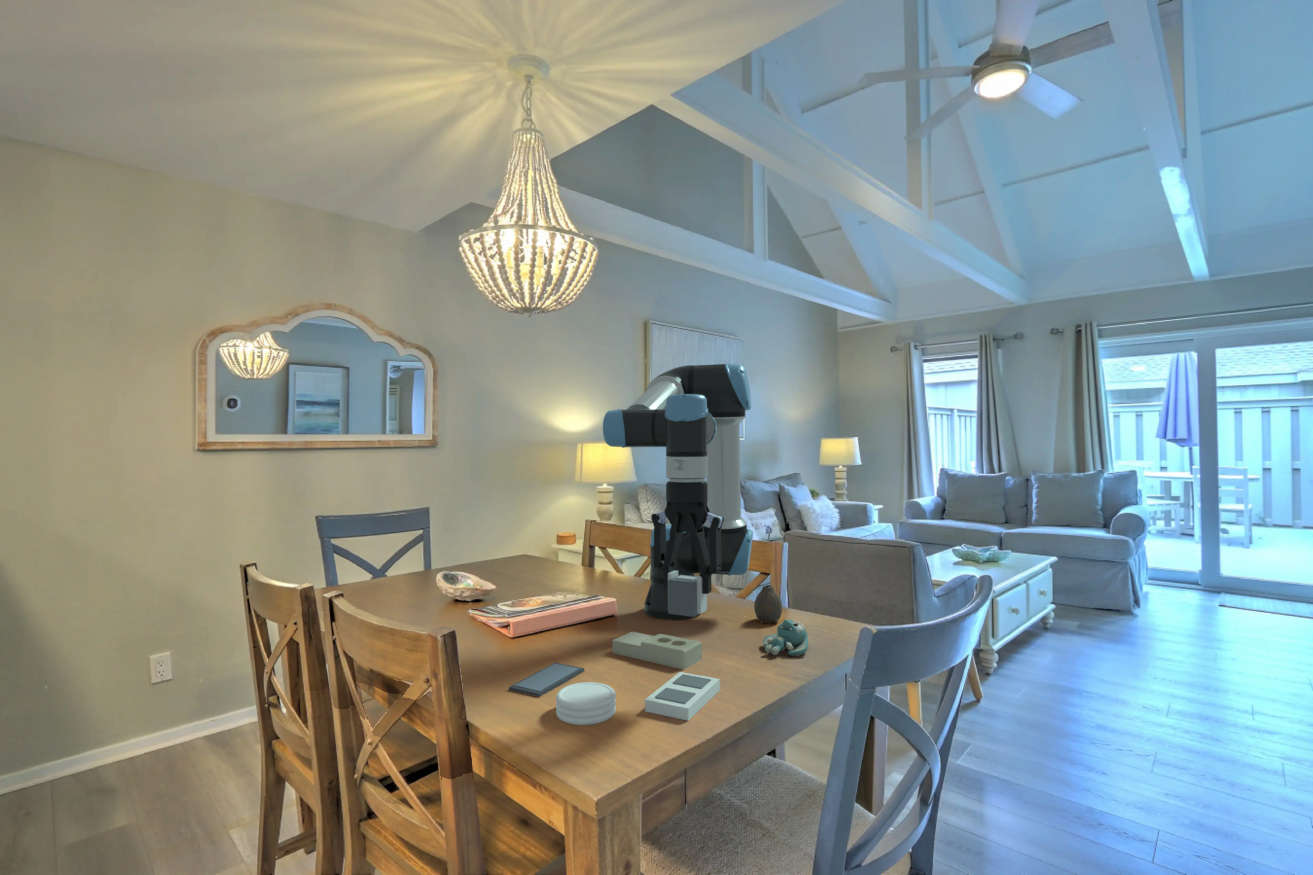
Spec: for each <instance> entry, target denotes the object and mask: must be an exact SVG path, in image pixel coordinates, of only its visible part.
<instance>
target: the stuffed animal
mask: <svg viewBox="0 0 1313 875" xmlns="http://www.w3.org/2000/svg"><path fill="white" fill-rule="evenodd" d="M806 630H807V629H806V627H805V625H804V624H803V623H802V622H800V621H794V620H792V619H784V620H783V622H782V623H780V624H779V625H777V628H776V633H774V634H769V635H766V636H764V637H763V639H762V644H763V646H764V650H765V653H767V654H770V653H771V654H772V655H774V656H776V655H779V653H780V652H782V651H784V650H785V649H787V650H788V651H787V654H788V656H793V657H794V656H795V657H798V655H799V656H802V655H805V654H806V653H807V650H808V648H809V636H808V632H807V631H806Z"/></svg>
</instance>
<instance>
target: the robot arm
mask: <svg viewBox="0 0 1313 875" xmlns="http://www.w3.org/2000/svg"><path fill="white" fill-rule="evenodd" d="M749 384H750V383H749V378H748V374H747V370H746V368H745V367H744V366H743V365H741V364H738V363H735V364H733V363H719V364H718V363H717V364H698V365H697V364H696V365H690V364H687V365H682V366H678V367H677V366H676V367H675V368H672V369H669V370H667V371H664V372H662V373H660V374H659V375H657V376H656V377H655V378H653V379H652V380H651V381H650V382H649V383H648V385H647V387H646V390H645V392H643V394H641V395H640V396H639V397H638V398H637V399H635V401H634V402H633V403H631V405H629V406H628V407H627V408H626V409H621V408H617V409H612V410H607V411H606V413H605V414H604V416H603V421H602V434H603V439H604V442H605V444H606V445H607V446H609V447H613V448H614V447H615V448H622V449H623V448H666V449H665V478H667V479H669V480H668V481H666V483H665V501H666V507H665V508H664V511H660V512H657V513H652V514H651V516H650V517H651V522H652V524H653V529H652V530H651V534H650V544H649V548H650V584H649V589H648V591H647V595H646V598H645V601H644V603H643V604H644V610H643V612H644V614H645V615H647V616H648V617H650V618H651V617H652V618H655V619H659V620H660V619H661V620H673V621H674V620H687V619H691V618H693V617H690V616H683V615H676V614H669V613H668V580H669V579H671V578H674V577H676V576H678V575H688V576H697V613H700V614H698V615H696V616H695V617H698V616H700V615H702V613H705V612H706V611H707V610H708V594H711V591H712V576H713V575H722V576H723V575H727V576H728V577H729V576H741V575H745V574H746V573H747V572H748V570H749V566H750V561H751V553H752V546H753V544H752V543H753V535H754V532H753V530H752V529H749V528H748V525H747V524H748V522H747V521H746V520H745V519H744V518H743V516H742V514H741V513H742V509H741V508H742V507H741V506H742V504H741V502H742V501H741V499H742V498H741V497H742V496H741V448H740V447H741V442H740V440H741V439H740V437H741V436H740V434H741V433H740V424H741V422H742V421H743V420H745V418H746V411H749V410H751V409H752V400H751V399H752V398H751V390H750V385H749ZM705 479H706V481H705ZM667 520H668V522H669V523H667ZM666 523H667V524H666ZM695 574H698V575H695ZM695 617H694V618H695Z"/></svg>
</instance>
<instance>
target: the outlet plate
mask: <svg viewBox="0 0 1313 875" xmlns="http://www.w3.org/2000/svg"><path fill="white" fill-rule="evenodd" d="M720 691H721V678H716V677H712V676H711V677H710V676H705V675H698V674H693V673H689V672H684V671H683V672H682V671H679V672H678V673H677V674H675V675H674V676H673V677H672V678H670V679H669V680H668V681H666V682H665V683H664V684H663V685H660V687H659V688H657V689H656V690H655V691H654V692H652V693H651V694H650V695H649V696H648V697H646V698H645V699H644V712H645V713H646V712H647V713H650V714H655V715H661V716H666V717H669V718H673V719H678V720H683V721H687V722H688V721H690V720H691V719H692V718H693V717H694V716H695V715H697V713H698V712H699V711H700V710H702V708H703V707H704V706H705V705H706V704H707V703H708V702H710V700H711V699H713V697H715V696H716V695H717V693H719V692H720Z"/></svg>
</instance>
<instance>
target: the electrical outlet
mask: <svg viewBox="0 0 1313 875" xmlns="http://www.w3.org/2000/svg"><path fill="white" fill-rule="evenodd" d="M611 641H612V654H615V655H619V656H624V657H628V658H632V659H636V660H639V661H640V660H641V661H645V662H649V663H652V664H658V665H661V666H667V667H669V668H675V669H679V670H687V669H688V668H690V667H691V666H693V665H695V664H697V663H698V661H699V662H700V661H702V659H703V658H702V654H703V653H702V652H703V650H702V648H703V647H702V642H701V641H700V640H699V641H698V640H694V639H689V638H683V637H680V636H679V637H678V636H674V635H669V634H664V633H657V634H656V635H651V634H645V633H642V632H636V631H629V633H625V634H624V635H621V636H619V637H617V638H614V639H612V640H611Z"/></svg>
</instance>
